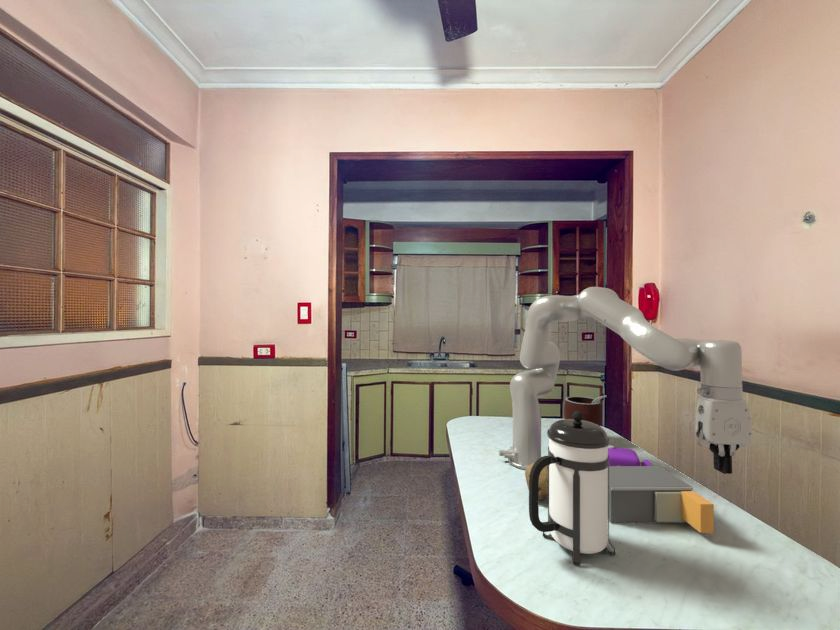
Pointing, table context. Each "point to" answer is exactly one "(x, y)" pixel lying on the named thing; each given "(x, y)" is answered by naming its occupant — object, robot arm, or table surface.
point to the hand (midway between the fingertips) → (722, 471)
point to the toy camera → (624, 457)
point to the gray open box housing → (639, 492)
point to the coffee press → (574, 487)
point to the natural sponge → (542, 480)
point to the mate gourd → (584, 408)
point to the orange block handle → (685, 509)
